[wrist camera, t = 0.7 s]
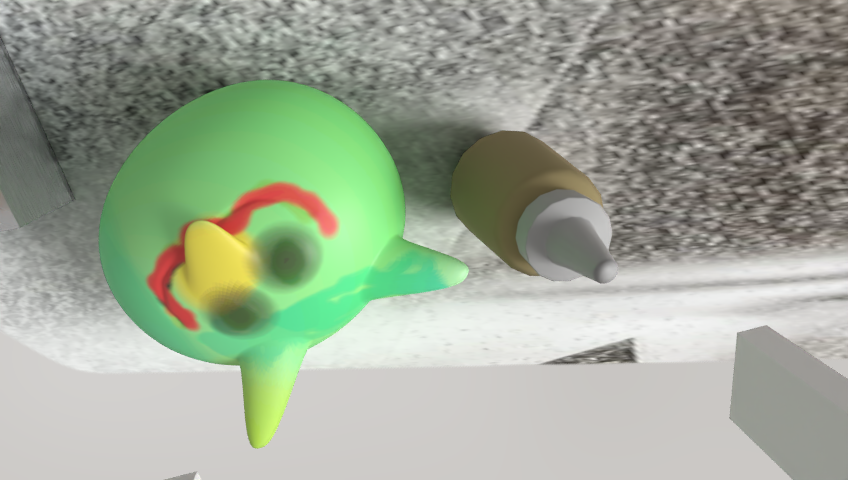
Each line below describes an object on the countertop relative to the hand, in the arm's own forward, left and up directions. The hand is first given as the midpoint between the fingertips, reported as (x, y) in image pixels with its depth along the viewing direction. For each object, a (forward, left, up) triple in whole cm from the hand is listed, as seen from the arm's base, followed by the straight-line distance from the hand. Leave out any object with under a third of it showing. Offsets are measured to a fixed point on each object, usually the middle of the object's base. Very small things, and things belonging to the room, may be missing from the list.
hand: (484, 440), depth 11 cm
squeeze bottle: (+1, +8, -27) cm, 28 cm away
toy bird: (0, -8, -27) cm, 28 cm away
